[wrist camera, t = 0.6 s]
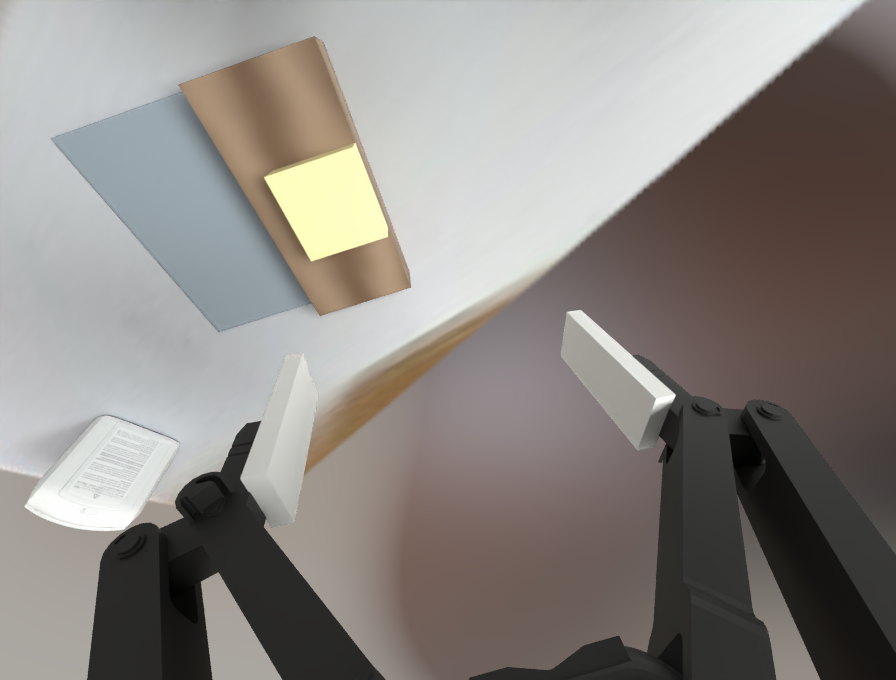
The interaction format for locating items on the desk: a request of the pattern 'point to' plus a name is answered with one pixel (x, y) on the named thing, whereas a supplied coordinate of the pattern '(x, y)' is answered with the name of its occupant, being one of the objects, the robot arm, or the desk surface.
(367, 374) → the desk surface
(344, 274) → the brown wooden block
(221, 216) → the rubber mat
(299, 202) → the note pad
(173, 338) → the desk surface
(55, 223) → the desk surface
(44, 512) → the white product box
